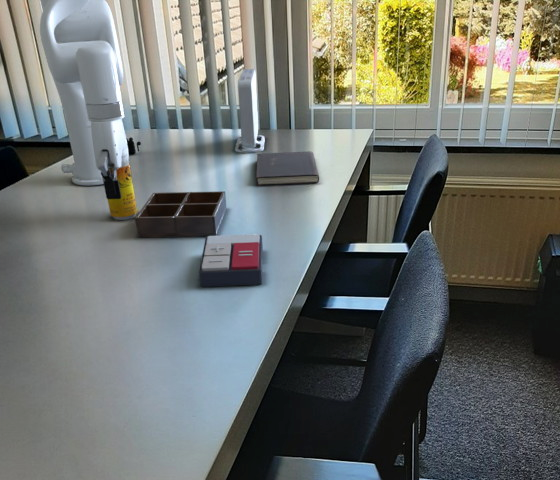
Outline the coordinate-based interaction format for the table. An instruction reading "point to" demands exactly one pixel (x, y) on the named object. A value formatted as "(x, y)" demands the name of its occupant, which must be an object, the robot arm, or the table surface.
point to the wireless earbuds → (132, 146)
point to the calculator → (232, 260)
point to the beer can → (124, 193)
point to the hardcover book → (286, 168)
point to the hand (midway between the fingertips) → (120, 191)
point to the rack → (182, 214)
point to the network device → (248, 113)
